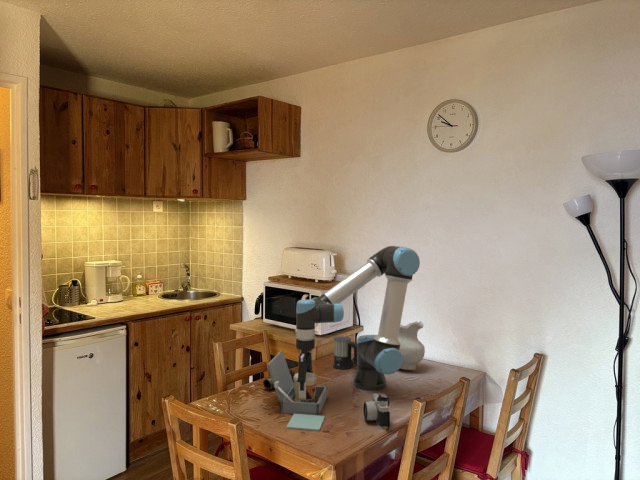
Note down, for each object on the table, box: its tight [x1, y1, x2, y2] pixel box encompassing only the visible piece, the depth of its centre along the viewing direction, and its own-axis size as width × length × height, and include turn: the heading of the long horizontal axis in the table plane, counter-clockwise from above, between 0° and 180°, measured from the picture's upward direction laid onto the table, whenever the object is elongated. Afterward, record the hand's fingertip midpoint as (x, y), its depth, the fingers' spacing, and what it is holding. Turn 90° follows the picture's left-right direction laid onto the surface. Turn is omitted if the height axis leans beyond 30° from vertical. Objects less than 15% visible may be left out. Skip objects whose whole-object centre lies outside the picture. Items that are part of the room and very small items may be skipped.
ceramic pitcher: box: [398, 321, 426, 371], centre depth 242 cm, size 22×20×25 cm
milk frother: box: [333, 335, 357, 370], centre depth 245 cm, size 14×16×15 cm
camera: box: [362, 392, 391, 429], centre depth 177 cm, size 16×9×10 cm, turn 5°
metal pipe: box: [262, 369, 296, 390], centre depth 215 cm, size 18×7×6 cm, turn 143°
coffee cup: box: [293, 372, 318, 403], centre depth 191 cm, size 9×9×12 cm
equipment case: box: [266, 350, 328, 416], centre depth 192 cm, size 21×20×19 cm
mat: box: [286, 414, 326, 432], centre depth 174 cm, size 12×12×1 cm
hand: (305, 393), depth 191 cm, fingers closed on coffee cup, 9 cm apart
